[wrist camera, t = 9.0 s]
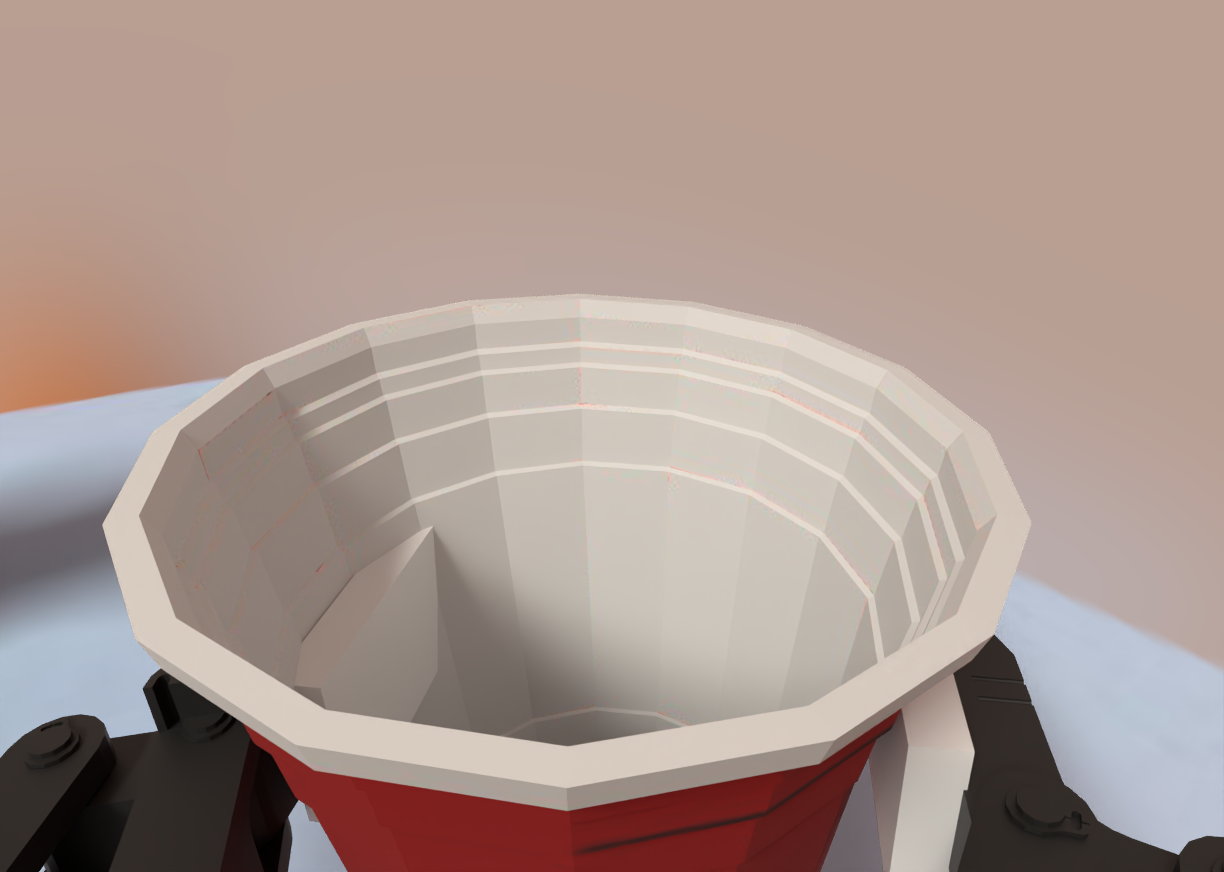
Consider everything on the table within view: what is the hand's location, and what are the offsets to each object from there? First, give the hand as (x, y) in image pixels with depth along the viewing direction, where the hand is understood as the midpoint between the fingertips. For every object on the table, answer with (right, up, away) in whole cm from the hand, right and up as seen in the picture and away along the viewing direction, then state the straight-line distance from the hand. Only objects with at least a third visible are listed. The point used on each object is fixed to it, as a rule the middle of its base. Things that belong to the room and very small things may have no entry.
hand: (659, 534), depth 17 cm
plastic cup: (-1, -9, -1) cm, 9 cm away
